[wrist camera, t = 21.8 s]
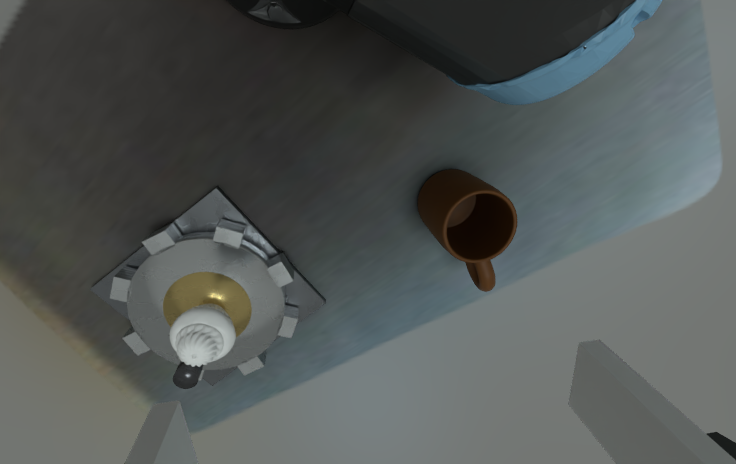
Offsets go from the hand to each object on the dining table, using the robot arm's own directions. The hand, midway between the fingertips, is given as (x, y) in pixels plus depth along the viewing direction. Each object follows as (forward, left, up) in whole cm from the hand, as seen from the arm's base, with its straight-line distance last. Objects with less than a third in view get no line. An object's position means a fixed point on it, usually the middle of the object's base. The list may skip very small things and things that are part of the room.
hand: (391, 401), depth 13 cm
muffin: (+3, -19, -28) cm, 34 cm away
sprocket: (+2, -19, -31) cm, 36 cm away
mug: (+12, +8, -32) cm, 35 cm away
